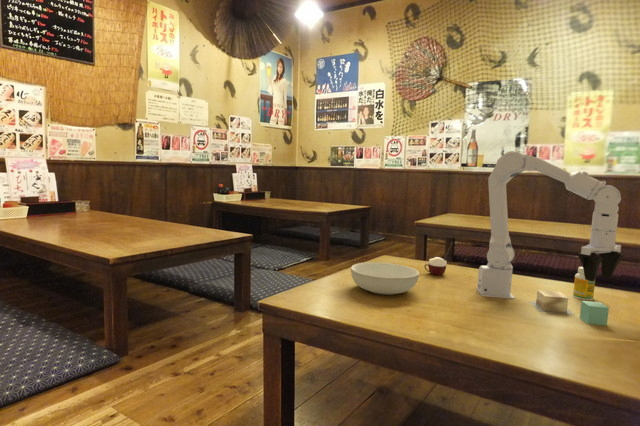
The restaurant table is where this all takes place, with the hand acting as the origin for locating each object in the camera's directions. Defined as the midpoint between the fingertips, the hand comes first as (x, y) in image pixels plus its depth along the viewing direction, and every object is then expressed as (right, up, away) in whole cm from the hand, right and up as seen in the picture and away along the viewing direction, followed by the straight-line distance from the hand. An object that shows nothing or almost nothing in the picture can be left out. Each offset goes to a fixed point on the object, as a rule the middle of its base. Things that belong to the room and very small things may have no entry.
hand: (598, 279), depth 114 cm
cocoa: (-33, -5, +39) cm, 51 cm away
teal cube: (-6, -10, -6) cm, 13 cm away
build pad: (-11, -9, +4) cm, 15 cm away
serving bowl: (-57, -6, +16) cm, 59 cm away
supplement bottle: (+5, -9, +15) cm, 18 cm away
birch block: (-11, -9, +4) cm, 14 cm away
